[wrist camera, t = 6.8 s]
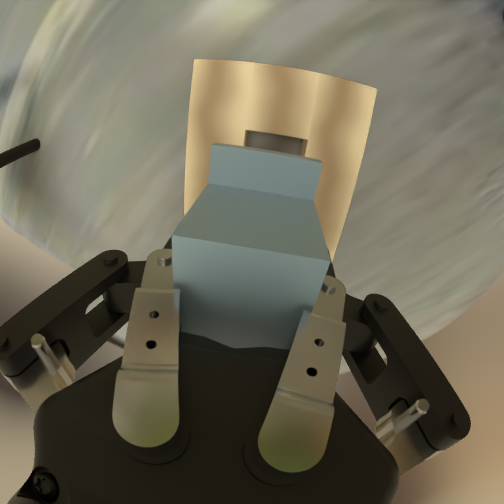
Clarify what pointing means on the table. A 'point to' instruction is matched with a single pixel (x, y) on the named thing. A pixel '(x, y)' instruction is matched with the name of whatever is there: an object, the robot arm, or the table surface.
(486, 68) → the table surface
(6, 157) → the solar garden light
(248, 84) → the block
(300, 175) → the grey-blue stepped block
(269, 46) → the table surface
